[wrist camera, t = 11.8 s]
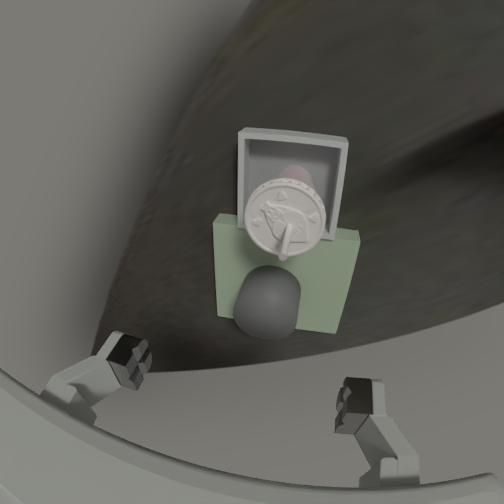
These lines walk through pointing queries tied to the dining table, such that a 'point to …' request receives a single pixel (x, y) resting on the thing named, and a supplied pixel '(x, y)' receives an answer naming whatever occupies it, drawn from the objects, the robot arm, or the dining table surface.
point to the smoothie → (286, 214)
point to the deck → (294, 267)
